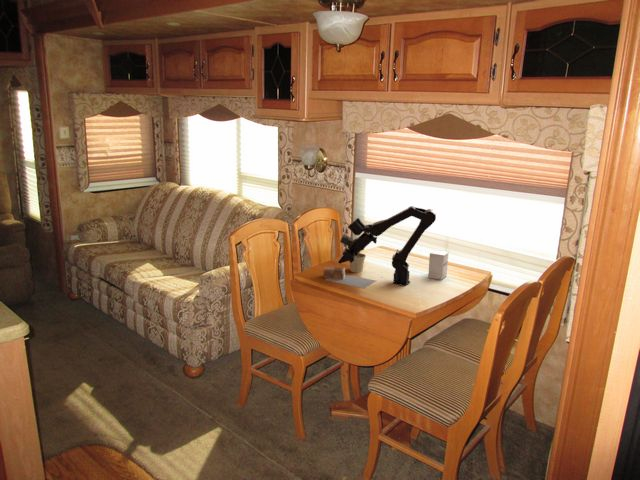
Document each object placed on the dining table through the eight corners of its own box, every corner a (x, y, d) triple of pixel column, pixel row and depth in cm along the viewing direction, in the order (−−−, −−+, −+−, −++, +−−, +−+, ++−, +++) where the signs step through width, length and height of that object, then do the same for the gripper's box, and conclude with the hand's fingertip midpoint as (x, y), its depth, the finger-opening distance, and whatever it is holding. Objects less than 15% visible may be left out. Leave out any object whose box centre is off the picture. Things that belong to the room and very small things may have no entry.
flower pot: (344, 272, 264) (344, 256, 262) (351, 267, 272) (352, 251, 270) (361, 275, 260) (361, 258, 258) (368, 270, 268) (368, 254, 266)
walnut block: (345, 268, 255) (325, 266, 257) (343, 270, 251) (323, 269, 253) (345, 276, 256) (325, 275, 258) (343, 279, 252) (323, 278, 254)
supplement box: (442, 280, 254) (443, 255, 250) (427, 277, 257) (429, 253, 254) (447, 276, 260) (448, 252, 257) (433, 273, 264) (434, 249, 260)
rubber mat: (376, 281, 251) (376, 280, 251) (364, 289, 240) (364, 288, 240) (337, 273, 262) (337, 272, 262) (324, 280, 252) (324, 279, 252)
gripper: (353, 225, 257) (331, 245, 262) (347, 234, 239) (323, 256, 244) (368, 242, 257) (346, 261, 262) (363, 252, 239) (340, 273, 244)
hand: (338, 262), depth 253 cm, fingers closed
